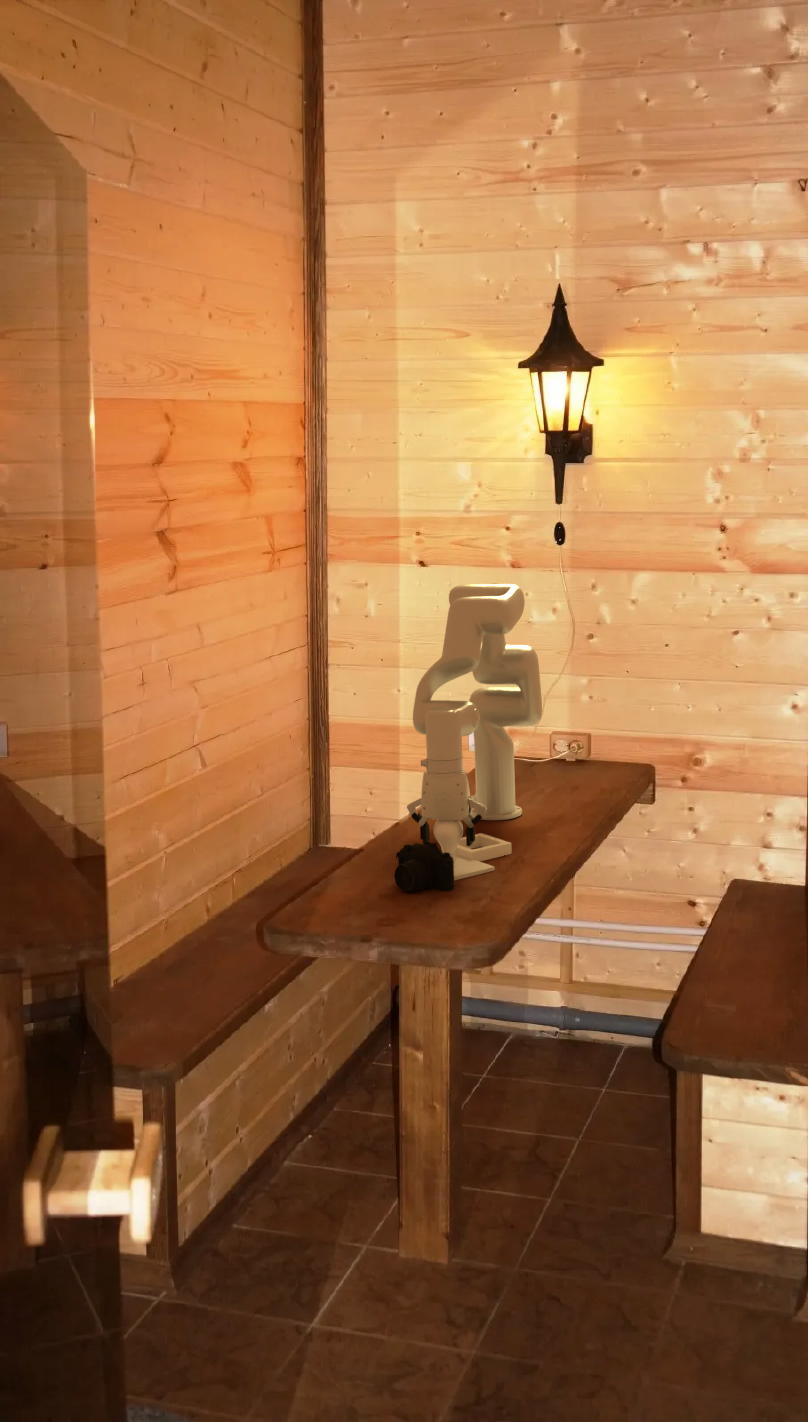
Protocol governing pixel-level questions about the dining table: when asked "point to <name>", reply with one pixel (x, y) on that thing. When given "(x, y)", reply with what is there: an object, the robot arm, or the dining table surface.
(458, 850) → the socket collar
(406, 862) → the film camera
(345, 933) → the dining table surface
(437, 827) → the lightbulb
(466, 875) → the felt mat
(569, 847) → the dining table surface
